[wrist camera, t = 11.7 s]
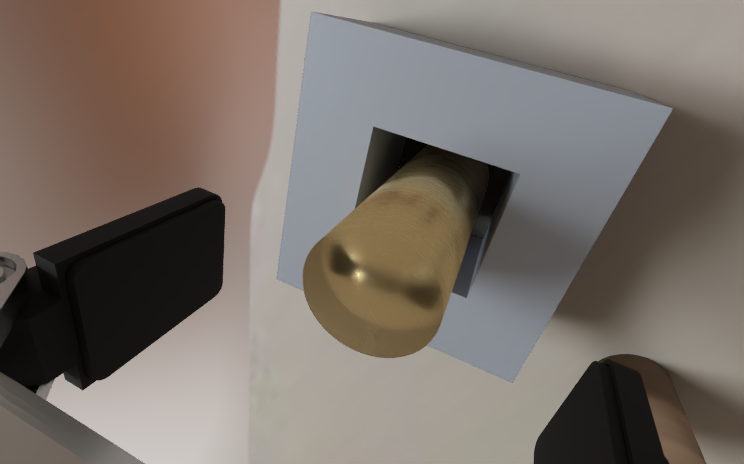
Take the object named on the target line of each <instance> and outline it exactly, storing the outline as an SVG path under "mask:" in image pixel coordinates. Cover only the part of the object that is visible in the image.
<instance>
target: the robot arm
mask: <svg viewBox="0 0 744 464" xmlns="http://www.w3.org/2000/svg"><path fill="white" fill-rule="evenodd" d="M224 228H225V206H224V204H223V203H222V200H221V198H220V196H218V195H216V194H214V193H212V192H209V191H207V190H204V189H202V188H194V189H192V190H189V191H187V192H184V193H182V194H179V195H177V196H174V197H172V198H169V199H167V200H164V201H162V202H159V203H157V204H155V205H152V206H149V207H147V208H144V209H142V210H139V211H137V212H135V213H132V214H129V215H127V216H124V217H122V218H119V219H117V220H114V221H112V222H109V223H107V224H104V225H102V226H99V227H97V228H94V229H92V230H89V231H87V232H85V233H82V234H79V235H77V236H74V237H72V238H69V239H67V240H64V241H62V242H59V243H57V244H54V245H52V246H49V247H47V248H44V249H42V250H39V251H37V252H34V253H33V254H34V258H35V262H36V266H34V267H32V268H29V269H28V268H27V265H26V262H25V260H24V259H23V258H21V257H20V256H18V255H15V254H12V253H8V252H0V464H144V463H143V462H141V461H140V460H138V459H137V458H135V457H134V456H132V455H130V454H129V453H127V452H126V451H124V450H123V449H121V448H120V447H118V446H117V445H115V444H113V443H112V442H110V441H109V440H107V439H105V438H104V437H102V436H101V435H99V434H98V433H96V432H95V431H93V430H91V429H90V428H88V427H87V426H85V425H84V424H82V423H80V422H79V421H77V420H76V419H74V418H73V417H71V416H69V415H68V414H66V413H65V412H63V411H62V410H60V409H58V408H57V407H55V406H54V405H52V404H51V403H49V402H48V401H46V399H47V396H48V394H49V391H50V389H51V387H52V384H53V381H54V379H55V378H56V377H58V376H59V375H61V374H62V373H64V376H65V379H66V380H67V381H69V382H70V383H72V384H73V385H75V386H77V387H79V388H80V389H82V390H84V389H85V388H87V387H88V386H89V385H91V384H92V383H94V382H95V381H96V380H102V379H105V378H107V377H108V376H110V375H111V374H112V373H114V372H115V371H116V370H118V369H119V368H120V367H122V366H123V365H124V364H126V363H127V362H128V361H130V360H131V359H132V358H134V357H135V356H136V355H138V354H139V353H140V352H142V351H143V350H144V349H146V348H147V347H148V346H150V345H151V344H152V343H154V342H155V341H156V340H158V339H159V338H160V337H161V336H163V335H164V334H166V333H167V332H168V331H169V330H171V329H172V328H174V327H175V326H176V325H178V324H179V323H180V322H182V321H183V320H184V319H186V318H187V317H188V316H190V315H191V314H192V313H194V312H195V311H196V310H198V309H199V308H200V307H202V306H203V305H204V304H206V303H207V302H208V301H210V300H211V299H212V298H214V297H215V296H216V295H217V294H218V293H219V291H220V290H221V287H222V283H223V257H224V256H223V255H224ZM534 464H669V462H668V460H667V458H666V457H665V456H664V453H663V449H662V446H661V442H660V439H659V435H658V432H657V429H656V425H655V422H654V418H653V415H652V411H651V408H650V404H649V401H648V397H647V394H646V391H645V387H644V384H643V380H642V377H641V375H640V373H639V372H638V371H637V370H634V369H632V368H629V367H627V366H625V365H622V364H620V363H617V362H615V361H613V360H610V359H606V360H604V361H603V362H602V363H599V362H597V361H594V362H592V363H591V365H590V366H589V367H588V369H587V370H586V371H585V373H584V374H583V376H582V377H581V378H580V380H579V381H578V383H577V384H576V385H575V387H574V388H573V390H572V391H571V392H570V394H569V395H568V397H567V398H566V399H565V401H564V402H563V404H562V405H561V406H560V408H559V409H558V411H557V412H556V413H555V415H554V416H553V418H552V419H551V420H550V422H549V423H548V425H547V426H546V427H545V429H544V430H543V432H542V433H541V434H540V436H539V438H538V440H537V442H536V445H535V450H534Z"/></svg>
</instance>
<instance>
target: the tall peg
mask: <svg viewBox="0 0 744 464" xmlns="http://www.w3.org/2000/svg"><path fill="white" fill-rule="evenodd" d="M488 183H489V168H488V164H487V163H484V162H481V161H478V160H475V159H472V158H469V157H466V156H463V155H460V154H457V153H454V152H451V151H448V150H444V149H441V148H438V147H435V146H432V145H429V144H428V145H427V146H426V147H424V148H423V149H422V150H421V151H420V152H419V153H418V154H417V155H415V156H414V157H413V158H412V159H411V160H410V161H409V162H407V163H406V164H405V165H404V166H403V167H402V168H401V169H400V170H398V171H397V172H396V173H395V174H394V175H393V176H392V177H391V178H389V179H388V180H387V181H386V182H385V183H384V184H383V185H382V186H380V187H379V188H378V189H377V190H376V191H375V192H374V193H372V194H371V195H370V196H369V197H368V198H367V199H366V200H365V201H363V202H362V203H361V204H360V205H359V206H358V207H357V208H356V209H354V210H353V211H352V212H351V213H350V214H349V215H348V216H346V217H345V218H344V219H343V220H342V221H341V222H340V223H339V224H337V225H336V226H335V227H334V228H333V229H332V230H331V231H330V232H328V233H327V234H326V235H325V236H324V237H323V238H322V239H320V240H319V241H318V242H317V243H316V244H315V245H314V247H313V248H312V249H311V251H310V252H309V254H308V256H307V258H306V261H305V264H304V268H303V288H304V293H305V297H306V300H307V302H308V305H309V307H310V309H311V311H312V313H313V314H314V316H315V317H316V319H317V320H318V322H319V323H320V324H321V325H322V326H323V327H324V329H325V330H326V331H327V332H328V333H330V334H331V335H332V336H333V337H334V338H335V339H337V340H338V341H339V342H341V343H343V344H344V345H346V346H347V347H349V348H351V349H353V350H355V351H358V352H360V353H363V354H366V355H370V356H375V357H382V358H397V357H403V356H407V355H410V354H413V353H415V352H417V351H419V350H421V349H422V348H424V347H425V346H426V345H427V344H428V343H429V342H430V341H431V340H432V339H433V338H434V336H435V335H436V333H437V332H438V330H439V328H440V325H441V322H442V319H443V316H444V313H445V310H446V307H447V304H448V301H449V298H450V295H451V292H452V289H453V287H454V284H455V281H456V278H457V275H458V272H459V269H460V266H461V263H462V260H463V257H464V254H465V251H466V248H467V245H468V242H469V239H470V236H471V234H472V231H473V228H474V225H475V222H476V219H477V216H478V213H479V210H480V207H481V204H482V201H483V198H484V195H485V192H486V189H487V186H488Z"/></svg>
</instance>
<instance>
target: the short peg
mask: <svg viewBox="0 0 744 464" xmlns="http://www.w3.org/2000/svg"><path fill="white" fill-rule="evenodd" d="M606 359H610V360H613V361H615V362H617V363H620V364H622V365H625V366H627V367H629V368H632V369H634V370H637V371H638V372H639V373H640V375H641V377H642V380H643V384H644V387H645V391H646V394H647V397H648V401H649V404H650V408H651V411H652V415H653V418H654V422H655V425H656V429H657V432H658V435H659V439H660V442H661V446H662V449H663V453H664V456H665V457H666V458H667V460H668V462H669V464H706V462H705V460H704V457H703V455H702V452H701V450H700V448H699V445H698V443H697V441H696V438H695V436H694V433H693V431H692V429H691V426H690V424H689V421H688V419H687V417H686V414H685V412H684V410H683V407H682V405H681V402H680V400H679V398H678V395H677V393H676V390H675V388H674V386H673V383H672V381H671V379H670V377H669V375H668V373H667V372H666V371H665V369H663V368H662V367H661V366H660V365H659V364H657V363H656V362H654V361H652V360H650V359H647V358H645V357H641V356H637V355H629V354H620V355H613V356H609V357H606V358H604V359H602V360H600V361H598V362H599V363H602V362H603V361H604V360H606Z"/></svg>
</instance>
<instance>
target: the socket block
mask: <svg viewBox="0 0 744 464" xmlns="http://www.w3.org/2000/svg"><path fill="white" fill-rule="evenodd" d="M672 110H673V108H671V107H668V106H666V105H663V104H661V103H659V102H656V101H654V100H651V99H649V98H646V97H644V96H641V95H639V94H637V93H634V92H632V91H629V90H625V89H621V88H617V87H614V86H610V85H606V84H602V83H598V82H595V81H591V80H587V79H583V78H580V77H576V76H572V75H568V74H564V73H561V72H557V71H553V70H549V69H546V68H542V67H538V66H534V65H530V64H527V63H523V62H519V61H515V60H512V59H508V58H504V57H500V56H496V55H493V54H489V53H485V52H481V51H478V50H474V49H470V48H466V47H462V46H459V45H455V44H451V43H447V42H443V41H440V40H436V39H432V38H428V37H425V36H421V35H417V34H413V33H409V32H406V31H402V30H398V29H394V28H391V27H387V26H383V25H379V24H375V23H372V22H367V21H361V20H355V19H350V18H344V17H339V16H333V15H328V14H322V13H316V12H311V16H310V24H309V31H308V39H307V47H306V55H305V62H304V70H303V78H302V86H301V93H300V101H299V109H298V117H297V124H296V132H295V140H294V148H293V155H292V163H291V171H290V179H289V186H288V194H287V202H286V210H285V217H284V225H283V233H282V241H281V248H280V256H279V264H278V272H277V279H278V280H280V281H282V282H284V283H287V284H289V285H291V286H293V287H296V288H298V289H300V290H302V291H304V288H303V268H304V264H305V261H306V258H307V256H308V254H309V252H310V251H311V249H312V248H313V247H314V245H315V244H316V243H317V242H318V241H319V240H320V239H322V238H323V237H324V236H325V235H326V234H327V233H328V232H330V231H331V230H332V229H333V228H334V227H335V226H336V225H337V224H339V223H340V222H341V221H342V220H343V219H344V218H345V217H346V216H348V215H349V214H350V213H351V212H352V211H353V210H354V209H356V208H357V207H358V206H359V205H360V204H361V203H362V202H363V201H365V200H366V199H367V198H368V197H369V196H370V195H371V194H372V193H374V192H375V191H376V190H377V189H378V188H379V187H380V186H382V185H383V184H384V183H385V182H386V181H387V180H388V179H389V178H391V177H392V176H393V175H394V174H395V173H396V172H397V169H398V166H399V162H400V158H401V155H402V151H403V147H404V144H405V140H406V137H408V138H411V139H414V140H417V141H420V142H423V143H426V144H429V145H432V146H435V147H438V148H441V149H444V150H448V151H451V152H454V153H457V154H460V155H463V156H466V157H469V158H472V159H475V160H478V161H481V162H484V163H488V164H491V165H494V166H497V167H500V168H503V169H506V170H509V171H511V173H510V175H509V178H508V180H507V182H506V185H505V187H504V189H503V192H502V194H501V197H500V199H499V201H498V204H497V206H496V209H495V211H494V213H493V216H492V218H491V220H490V223H489V225H488V228H487V230H486V232H485V235H484V237H483V239H480V238H477V237H474V236H472V235H471V236H470V239H469V242H468V245H467V248H466V251H465V254H464V257H463V260H462V263H461V266H460V269H459V272H458V275H457V278H456V281H455V284H454V287H453V289H452V292H451V295H450V298H449V301H448V304H447V307H446V310H445V313H444V316H443V319H442V322H441V325H440V328H439V330H438V332H437V333H436V335H435V336H434V338H433V339H432V340H431V341H430V342H429V343H428V344H427V346H430V347H432V348H434V349H436V350H439V351H441V352H443V353H446V354H448V355H450V356H452V357H455V358H457V359H459V360H461V361H464V362H466V363H468V364H471V365H473V366H475V367H477V368H480V369H482V370H484V371H486V372H489V373H491V374H493V375H496V376H498V377H500V378H502V379H505V380H507V381H509V382H511V383H513V381H514V380H515V378H516V376H517V375H518V373H519V371H520V369H521V368H522V366H523V364H524V363H525V361H526V359H527V358H528V356H529V354H530V352H531V351H532V349H533V347H534V346H535V344H536V342H537V340H538V339H539V337H540V335H541V334H542V332H543V330H544V328H545V327H546V325H547V323H548V322H549V320H550V318H551V317H552V315H553V313H554V311H555V310H556V308H557V306H558V305H559V303H560V301H561V299H562V298H563V296H564V294H565V293H566V291H567V289H568V287H569V286H570V284H571V282H572V281H573V279H574V277H575V275H576V274H577V272H578V270H579V269H580V267H581V265H582V264H583V262H584V260H585V258H586V257H587V255H588V253H589V252H590V250H591V248H592V246H593V245H594V243H595V241H596V240H597V238H598V236H599V234H600V233H601V231H602V229H603V228H604V226H605V224H606V222H607V221H608V219H609V217H610V216H611V214H612V212H613V211H614V209H615V207H616V205H617V204H618V202H619V200H620V199H621V197H622V195H623V193H624V192H625V190H626V188H627V187H628V185H629V183H630V181H631V180H632V178H633V176H634V175H635V173H636V171H637V170H638V168H639V166H640V164H641V163H642V161H643V159H644V158H645V156H646V154H647V152H648V151H649V149H650V147H651V146H652V144H653V142H654V140H655V139H656V137H657V135H658V134H659V132H660V130H661V128H662V127H663V125H664V123H665V122H666V120H667V118H668V117H669V115H670V113H671V111H672Z"/></svg>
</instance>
